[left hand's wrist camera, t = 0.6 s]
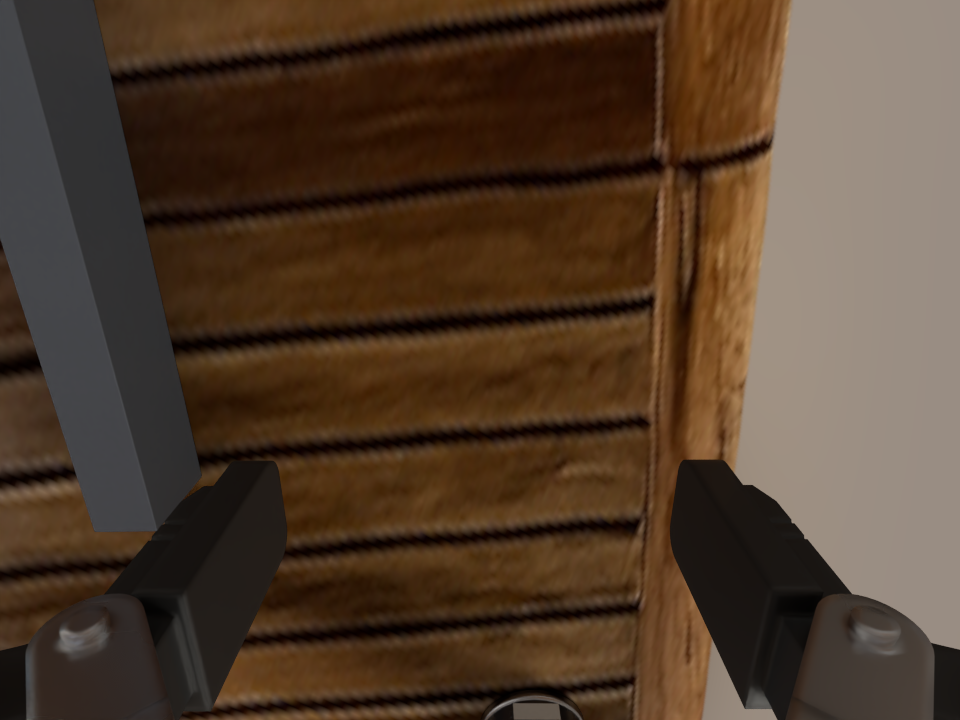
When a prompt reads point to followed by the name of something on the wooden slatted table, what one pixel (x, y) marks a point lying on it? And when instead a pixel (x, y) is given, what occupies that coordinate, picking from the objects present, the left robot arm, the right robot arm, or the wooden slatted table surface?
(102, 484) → the beam
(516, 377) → the wooden slatted table surface
